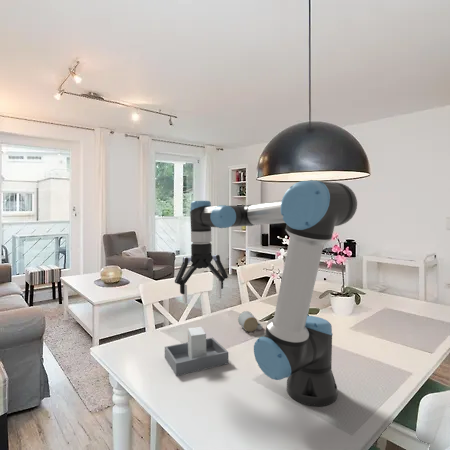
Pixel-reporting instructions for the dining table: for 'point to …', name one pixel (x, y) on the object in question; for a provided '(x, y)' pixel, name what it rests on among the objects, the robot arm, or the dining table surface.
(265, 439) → the dining table surface
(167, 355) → the bin
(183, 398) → the dining table surface
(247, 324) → the ceramic mug
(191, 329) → the small box
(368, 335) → the dining table surface
